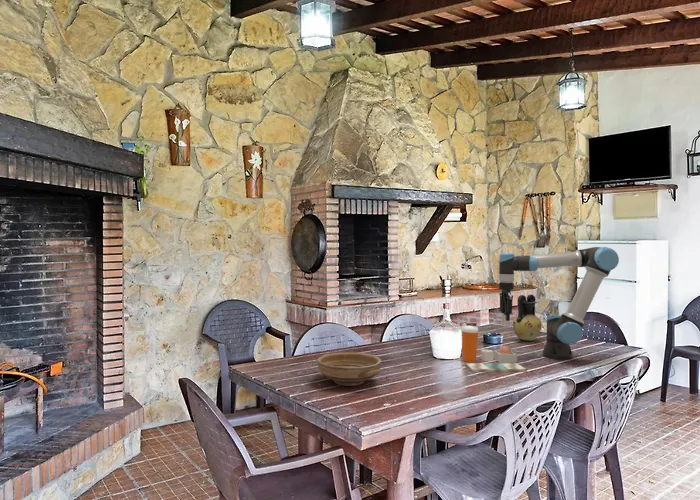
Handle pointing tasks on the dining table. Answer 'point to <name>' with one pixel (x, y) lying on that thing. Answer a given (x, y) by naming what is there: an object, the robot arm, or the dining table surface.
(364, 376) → the ceramic bowl
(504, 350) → the dome button
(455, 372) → the dining table surface
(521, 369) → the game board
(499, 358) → the dome collar
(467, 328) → the shaker bottle
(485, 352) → the die
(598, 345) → the dining table surface
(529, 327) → the amphora
